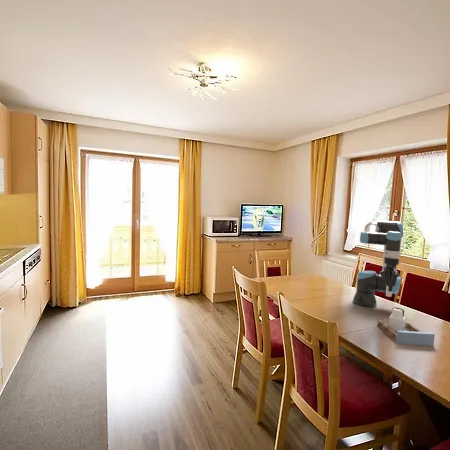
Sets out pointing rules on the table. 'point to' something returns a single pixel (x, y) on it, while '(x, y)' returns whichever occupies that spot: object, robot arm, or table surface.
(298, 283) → the table surface
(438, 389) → the table surface
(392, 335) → the guide channel
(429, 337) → the end stop
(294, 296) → the table surface
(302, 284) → the table surface
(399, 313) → the medicine bottle
